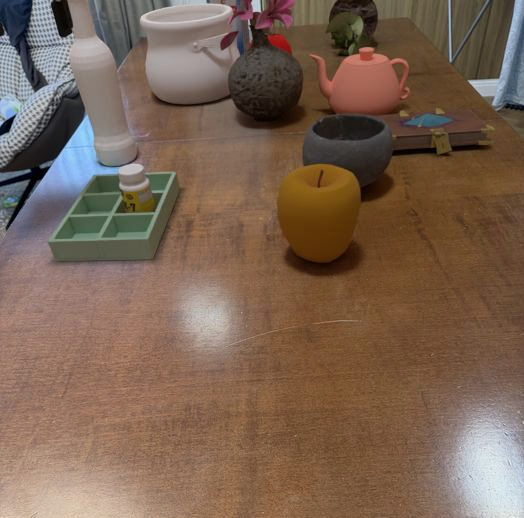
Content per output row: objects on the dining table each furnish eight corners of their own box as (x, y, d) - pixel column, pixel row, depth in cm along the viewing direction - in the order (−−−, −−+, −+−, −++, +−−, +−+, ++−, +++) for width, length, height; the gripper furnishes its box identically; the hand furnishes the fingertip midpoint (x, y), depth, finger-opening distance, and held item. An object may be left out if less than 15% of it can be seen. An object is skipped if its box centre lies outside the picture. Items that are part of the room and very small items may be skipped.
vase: (306, 128, 108) (304, -49, 88) (225, 134, 109) (205, -40, 88) (301, 102, 120) (299, -59, 100) (228, 107, 121) (211, -51, 100)
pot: (131, 95, 133) (113, 17, 121) (202, 72, 144) (192, -2, 132) (191, 116, 119) (177, 30, 107) (265, 88, 130) (260, 7, 118)
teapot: (310, 126, 109) (310, 62, 100) (308, 102, 120) (308, 42, 111) (413, 121, 107) (422, 55, 98) (402, 97, 118) (409, 36, 110)
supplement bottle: (122, 219, 83) (108, 169, 77) (146, 208, 85) (134, 159, 79) (139, 228, 80) (126, 178, 75) (163, 217, 83) (152, 167, 77)
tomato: (282, 82, 132) (280, 37, 125) (241, 78, 138) (238, 34, 131) (302, 70, 139) (301, 27, 132) (263, 66, 144) (260, 24, 137)
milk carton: (213, 61, 152) (203, -20, 138) (220, 56, 156) (211, -24, 142) (244, 62, 149) (237, -21, 135) (251, 56, 153) (245, -25, 140)
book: (347, 134, 107) (348, 108, 103) (466, 125, 106) (471, 99, 102) (359, 162, 94) (361, 134, 91) (493, 153, 93) (500, 124, 90)
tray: (55, 261, 76) (47, 241, 74) (99, 192, 92) (93, 174, 90) (153, 259, 75) (147, 238, 72) (179, 190, 91) (176, 171, 88)
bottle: (126, 147, 107) (82, -27, 86) (145, 158, 102) (103, -24, 82) (91, 159, 104) (37, -19, 83) (110, 171, 99) (57, -16, 78)
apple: (275, 275, 70) (270, 188, 61) (285, 234, 77) (281, 151, 69) (355, 278, 68) (362, 189, 59) (357, 236, 76) (363, 151, 67)
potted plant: (328, 45, 163) (320, 66, 137) (332, -13, 154) (324, -3, 127) (377, 46, 162) (378, 68, 135) (384, -12, 152) (387, -1, 125)
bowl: (284, 186, 89) (282, 128, 82) (343, 159, 96) (345, 103, 89) (346, 214, 81) (349, 152, 74) (406, 183, 87) (414, 123, 80)
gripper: (-115, -136, 54) (-43, 45, 66) (38, -145, 53) (84, 41, 65) (-76, -135, 60) (-16, 31, 72) (64, -144, 58) (102, 28, 70)
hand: (32, 36), depth 68 cm, fingers open, 9 cm apart
